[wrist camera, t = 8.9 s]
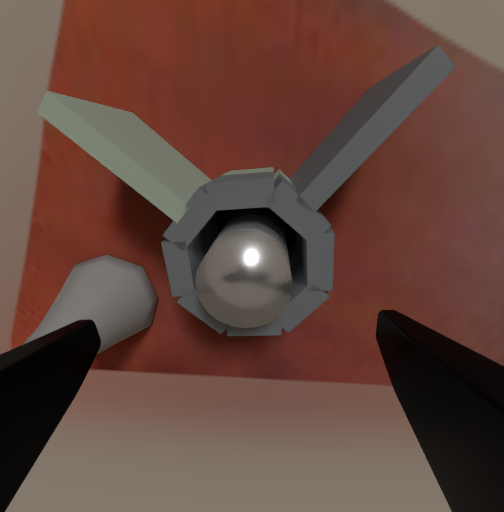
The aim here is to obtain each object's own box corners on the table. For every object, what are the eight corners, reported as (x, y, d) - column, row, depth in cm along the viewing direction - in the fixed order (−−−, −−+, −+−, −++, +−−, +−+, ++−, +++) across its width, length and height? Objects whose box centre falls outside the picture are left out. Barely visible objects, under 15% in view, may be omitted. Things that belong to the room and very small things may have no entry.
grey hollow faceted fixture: (261, 296, 21) (256, 360, 15) (179, 231, 20) (134, 272, 13) (419, 141, 17) (513, 137, 10) (327, 41, 15) (368, -41, 9)
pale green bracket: (336, 222, 19) (370, 261, 12) (261, 296, 21) (256, 360, 15) (161, 61, 16) (86, 2, 9) (99, 169, 19) (7, 180, 12)
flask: (163, 332, 23) (92, 452, 14) (84, 327, 24) (-36, 440, 15) (154, 255, 21) (58, 341, 12) (64, 251, 21) (-97, 330, 12)
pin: (282, 197, 18) (291, 238, 10) (285, 252, 20) (293, 326, 12) (225, 201, 19) (187, 243, 10) (231, 254, 20) (202, 328, 12)
